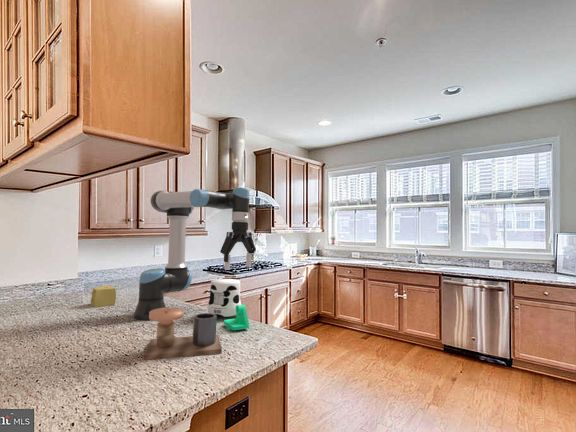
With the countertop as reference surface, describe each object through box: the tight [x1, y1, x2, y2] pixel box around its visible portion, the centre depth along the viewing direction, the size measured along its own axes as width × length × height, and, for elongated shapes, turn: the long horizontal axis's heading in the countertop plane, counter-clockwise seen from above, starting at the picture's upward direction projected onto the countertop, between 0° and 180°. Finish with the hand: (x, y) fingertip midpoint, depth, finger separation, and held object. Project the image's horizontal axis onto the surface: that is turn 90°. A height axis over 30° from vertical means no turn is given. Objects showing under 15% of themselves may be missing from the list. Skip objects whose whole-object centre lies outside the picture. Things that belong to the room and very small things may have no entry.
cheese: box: [90, 285, 117, 308], centre depth 178 cm, size 10×11×10 cm
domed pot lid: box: [149, 306, 185, 325], centre depth 116 cm, size 12×12×5 cm
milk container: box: [207, 278, 242, 319], centre depth 163 cm, size 17×17×18 cm
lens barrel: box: [192, 312, 218, 347], centre depth 120 cm, size 8×8×10 cm
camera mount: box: [223, 304, 250, 331], centre depth 144 cm, size 12×8×10 cm, turn 32°
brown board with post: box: [143, 321, 223, 360], centre depth 118 cm, size 26×16×10 cm, turn 107°
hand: (238, 268), depth 142 cm, fingers open, 13 cm apart
